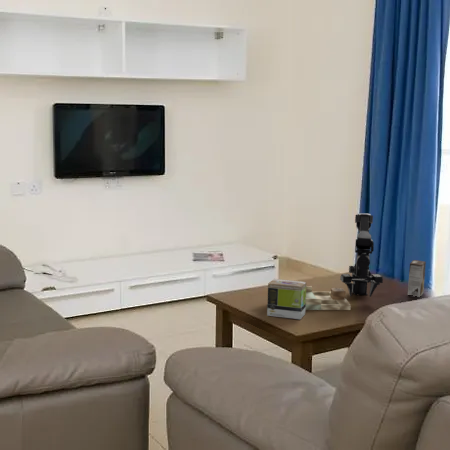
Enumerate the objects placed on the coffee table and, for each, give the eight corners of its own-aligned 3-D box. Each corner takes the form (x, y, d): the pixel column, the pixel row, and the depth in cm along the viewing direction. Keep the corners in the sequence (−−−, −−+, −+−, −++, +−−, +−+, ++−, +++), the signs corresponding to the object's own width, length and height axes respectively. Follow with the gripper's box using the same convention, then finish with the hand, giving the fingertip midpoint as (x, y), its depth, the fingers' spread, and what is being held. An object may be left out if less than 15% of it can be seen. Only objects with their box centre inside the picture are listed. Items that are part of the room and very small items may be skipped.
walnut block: (341, 296, 343) (342, 288, 342) (344, 299, 337) (345, 291, 336) (330, 296, 342) (330, 288, 341) (332, 299, 337) (333, 291, 336)
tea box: (305, 314, 322) (307, 281, 319) (300, 320, 312) (302, 286, 310) (272, 309, 326) (273, 277, 324) (266, 316, 317) (267, 282, 314)
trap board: (339, 296, 351) (339, 286, 350) (350, 310, 330) (351, 299, 329) (295, 296, 349) (296, 286, 349) (304, 309, 328) (304, 298, 327)
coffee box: (410, 291, 365) (413, 259, 362) (423, 293, 363) (426, 261, 360) (406, 295, 357) (409, 263, 354) (420, 297, 354) (422, 264, 352)
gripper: (377, 260, 346) (375, 292, 349) (338, 259, 345) (336, 291, 347) (384, 265, 335) (382, 298, 338) (344, 265, 334) (342, 298, 337)
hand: (360, 296), depth 340 cm, fingers open, 9 cm apart
